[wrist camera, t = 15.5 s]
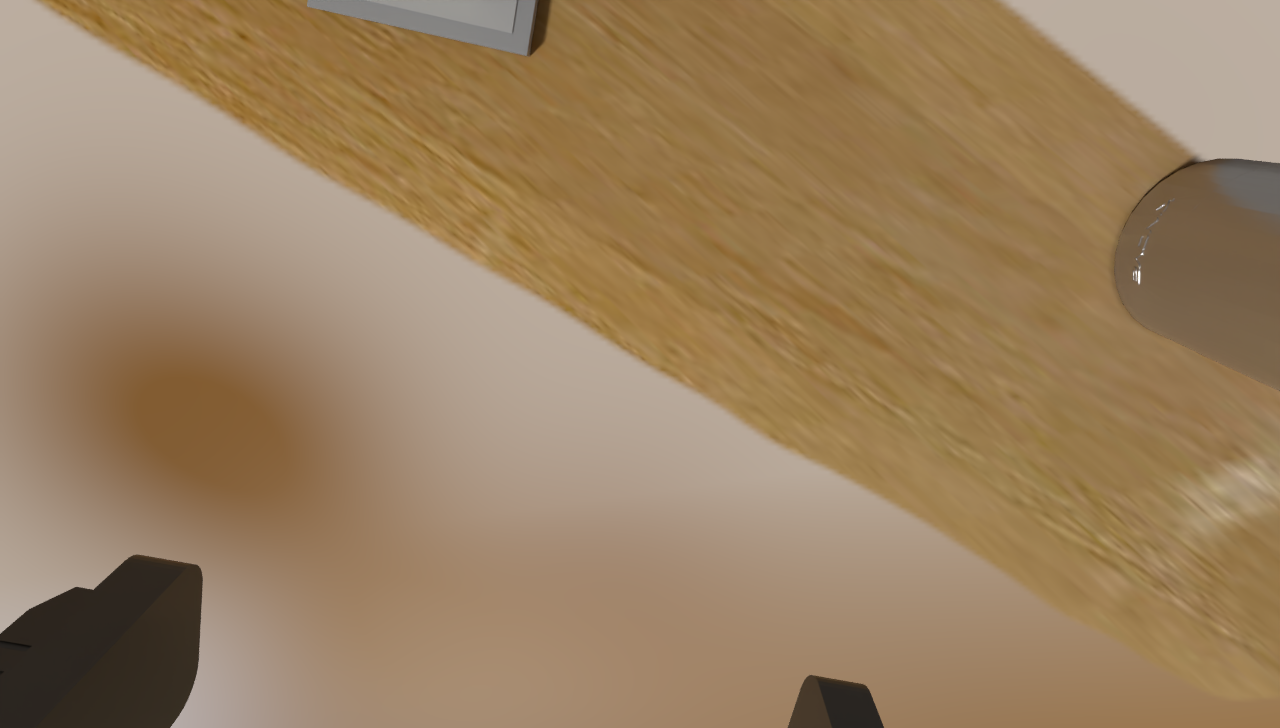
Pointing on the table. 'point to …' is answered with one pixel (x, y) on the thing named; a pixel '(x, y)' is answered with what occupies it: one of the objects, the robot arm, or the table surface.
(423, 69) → the table surface
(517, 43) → the plate
